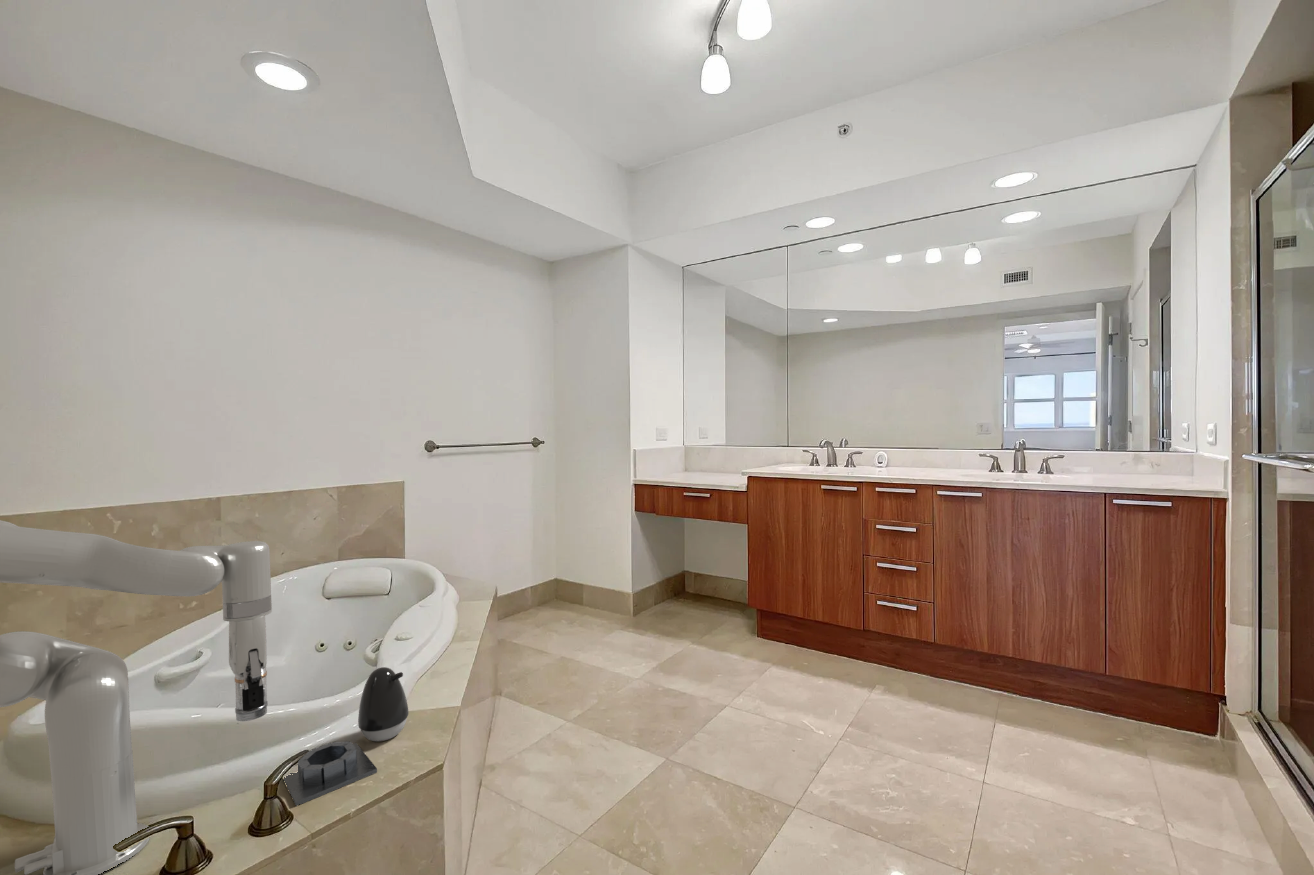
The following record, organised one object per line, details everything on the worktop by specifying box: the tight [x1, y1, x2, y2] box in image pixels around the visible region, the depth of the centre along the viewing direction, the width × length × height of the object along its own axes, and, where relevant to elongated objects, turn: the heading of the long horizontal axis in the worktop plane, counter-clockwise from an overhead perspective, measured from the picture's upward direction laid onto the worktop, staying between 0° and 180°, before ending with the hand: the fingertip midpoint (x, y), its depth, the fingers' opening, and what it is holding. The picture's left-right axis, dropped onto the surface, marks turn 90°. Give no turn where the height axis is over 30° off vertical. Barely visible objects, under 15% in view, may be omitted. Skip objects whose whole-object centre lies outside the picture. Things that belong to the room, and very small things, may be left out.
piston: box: [234, 666, 268, 722], centre depth 109 cm, size 5×5×9 cm
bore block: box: [283, 741, 378, 807], centre depth 115 cm, size 14×14×4 cm
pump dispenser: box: [357, 666, 409, 742], centre depth 129 cm, size 10×10×15 cm
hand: (251, 702), depth 109 cm, fingers closed on piston, 4 cm apart
